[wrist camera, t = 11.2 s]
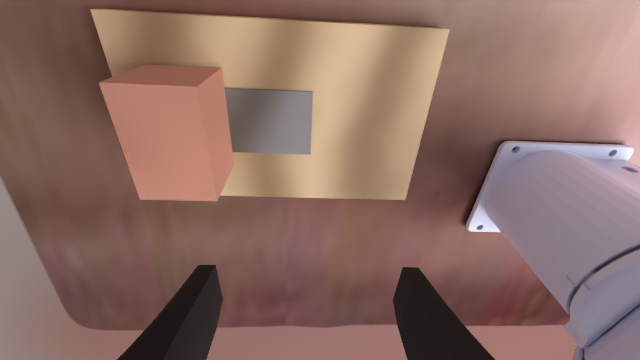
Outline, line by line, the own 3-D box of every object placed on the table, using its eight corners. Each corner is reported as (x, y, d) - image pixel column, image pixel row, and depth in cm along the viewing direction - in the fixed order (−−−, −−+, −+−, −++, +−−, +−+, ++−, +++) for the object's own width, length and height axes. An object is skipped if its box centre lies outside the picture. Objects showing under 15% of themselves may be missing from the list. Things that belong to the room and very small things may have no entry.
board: (440, 27, 16) (450, 29, 15) (400, 190, 22) (405, 200, 21) (105, 8, 15) (88, 9, 14) (158, 184, 21) (149, 194, 20)
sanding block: (221, 67, 15) (196, 86, 12) (234, 164, 19) (217, 201, 15) (145, 64, 15) (98, 82, 12) (171, 162, 18) (139, 199, 15)
